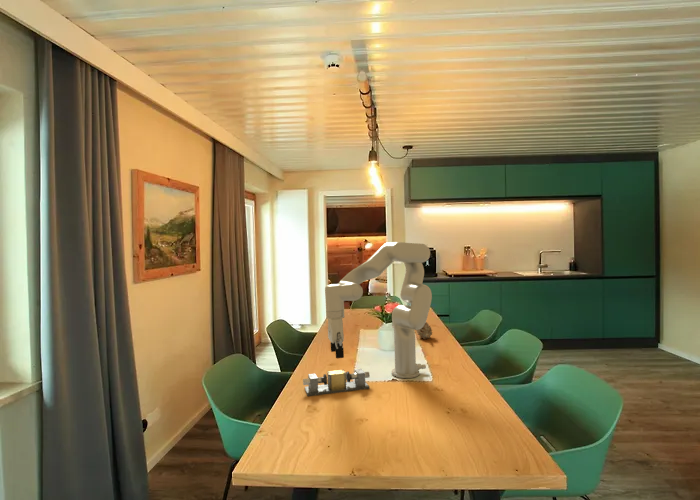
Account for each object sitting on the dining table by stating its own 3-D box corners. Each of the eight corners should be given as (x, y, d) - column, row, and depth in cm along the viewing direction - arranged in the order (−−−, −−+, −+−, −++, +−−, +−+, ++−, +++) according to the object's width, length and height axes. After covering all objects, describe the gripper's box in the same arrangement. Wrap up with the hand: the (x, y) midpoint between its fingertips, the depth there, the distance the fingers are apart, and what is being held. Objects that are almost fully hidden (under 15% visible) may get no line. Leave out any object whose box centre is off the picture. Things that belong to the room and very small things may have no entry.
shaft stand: (366, 381, 175) (365, 366, 175) (371, 388, 167) (371, 372, 167) (302, 389, 168) (301, 373, 168) (305, 396, 160) (304, 380, 160)
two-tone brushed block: (329, 389, 165) (329, 374, 165) (327, 385, 169) (327, 371, 169) (346, 387, 166) (346, 373, 166) (343, 383, 171) (343, 369, 171)
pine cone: (414, 335, 255) (413, 320, 254) (428, 335, 255) (428, 319, 255) (422, 344, 233) (421, 327, 232) (438, 344, 233) (438, 327, 233)
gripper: (322, 311, 174) (324, 350, 175) (330, 318, 157) (332, 361, 158) (339, 309, 176) (341, 348, 177) (349, 317, 159) (351, 359, 160)
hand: (337, 354), depth 167 cm, fingers open, 9 cm apart
